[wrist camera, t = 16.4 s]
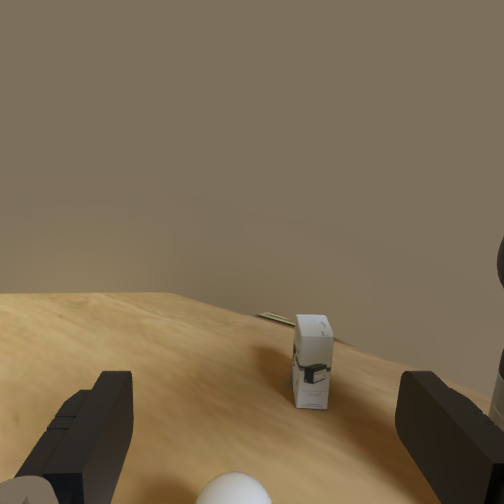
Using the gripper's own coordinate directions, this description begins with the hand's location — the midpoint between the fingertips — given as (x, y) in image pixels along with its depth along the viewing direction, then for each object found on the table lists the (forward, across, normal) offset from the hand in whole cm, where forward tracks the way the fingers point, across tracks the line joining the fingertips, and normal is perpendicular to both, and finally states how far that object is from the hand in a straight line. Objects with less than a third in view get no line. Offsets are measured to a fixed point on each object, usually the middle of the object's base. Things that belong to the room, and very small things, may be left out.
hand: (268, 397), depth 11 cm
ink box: (+41, -13, +28) cm, 52 cm away
